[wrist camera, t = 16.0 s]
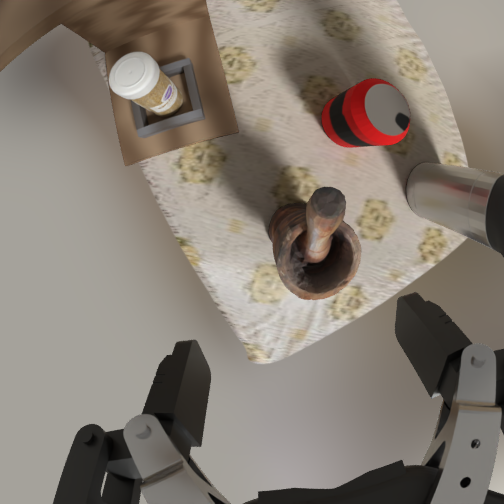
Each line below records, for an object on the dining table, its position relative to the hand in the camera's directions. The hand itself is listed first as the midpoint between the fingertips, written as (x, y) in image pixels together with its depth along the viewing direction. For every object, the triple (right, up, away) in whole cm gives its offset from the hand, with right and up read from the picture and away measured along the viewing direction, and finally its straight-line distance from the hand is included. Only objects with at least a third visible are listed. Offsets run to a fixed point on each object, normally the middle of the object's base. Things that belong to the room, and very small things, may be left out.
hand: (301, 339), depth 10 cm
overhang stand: (-14, +27, +20) cm, 36 cm away
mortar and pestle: (+3, +8, +28) cm, 29 cm away
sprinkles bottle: (-13, +23, +21) cm, 33 cm away
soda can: (+11, +21, +23) cm, 34 cm away
